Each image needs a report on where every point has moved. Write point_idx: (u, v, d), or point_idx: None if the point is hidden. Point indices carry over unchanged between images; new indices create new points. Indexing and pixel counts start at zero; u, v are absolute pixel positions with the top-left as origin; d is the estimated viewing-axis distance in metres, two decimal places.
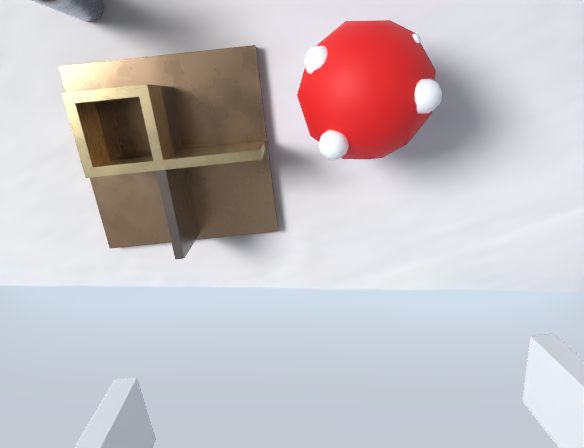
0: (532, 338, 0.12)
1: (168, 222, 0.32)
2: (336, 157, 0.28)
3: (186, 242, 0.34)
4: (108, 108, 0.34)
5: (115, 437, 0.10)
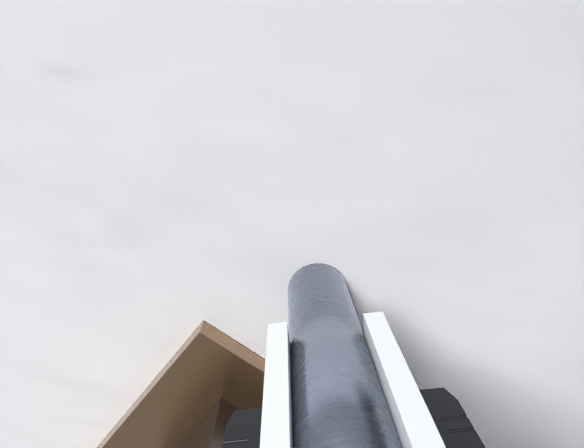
0: (363, 315, 0.14)
1: None
2: None
3: None
4: None
5: (289, 364, 0.13)
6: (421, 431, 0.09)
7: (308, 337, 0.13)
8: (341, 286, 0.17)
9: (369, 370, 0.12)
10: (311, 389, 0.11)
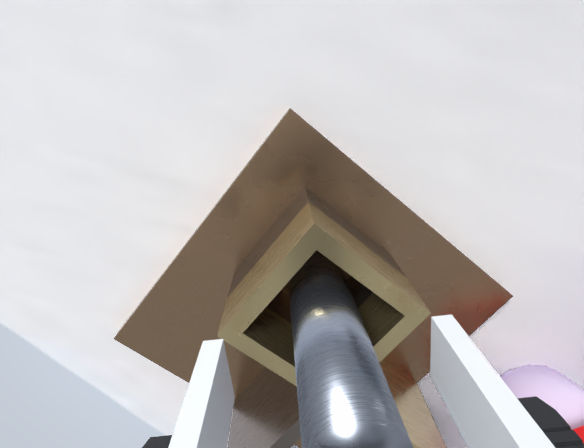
0: (432, 319, 0.13)
1: None
2: None
3: None
4: None
5: (216, 386, 0.12)
6: (535, 445, 0.08)
7: (305, 289, 0.16)
8: None
9: (353, 309, 0.15)
10: (308, 321, 0.14)
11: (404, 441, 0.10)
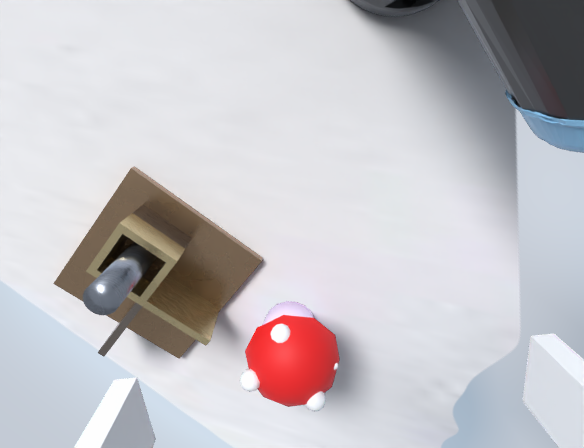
0: (532, 338, 0.12)
1: (114, 332, 0.40)
2: None
3: None
4: None
5: (115, 437, 0.10)
6: None
7: (124, 251, 0.38)
8: None
9: (136, 258, 0.36)
10: None
11: (113, 290, 0.31)
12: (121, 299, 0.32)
